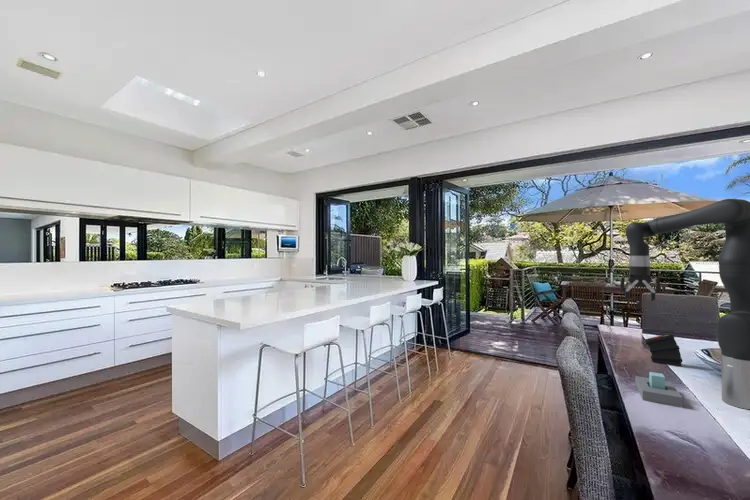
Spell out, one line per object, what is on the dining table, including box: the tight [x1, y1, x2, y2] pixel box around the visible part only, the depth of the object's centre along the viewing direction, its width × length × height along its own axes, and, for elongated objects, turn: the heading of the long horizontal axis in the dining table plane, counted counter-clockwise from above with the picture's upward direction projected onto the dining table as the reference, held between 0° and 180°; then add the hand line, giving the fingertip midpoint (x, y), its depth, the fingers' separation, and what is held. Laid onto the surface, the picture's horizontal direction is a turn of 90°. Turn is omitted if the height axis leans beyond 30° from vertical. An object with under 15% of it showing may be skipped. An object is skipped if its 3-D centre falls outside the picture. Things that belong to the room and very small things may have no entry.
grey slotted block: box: [635, 375, 683, 408], centre depth 123 cm, size 16×11×4 cm
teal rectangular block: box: [648, 371, 666, 390], centre depth 123 cm, size 4×4×8 cm
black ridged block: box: [645, 333, 683, 368], centre depth 156 cm, size 4×13×15 cm, turn 51°
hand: (639, 300), depth 147 cm, fingers open, 8 cm apart
